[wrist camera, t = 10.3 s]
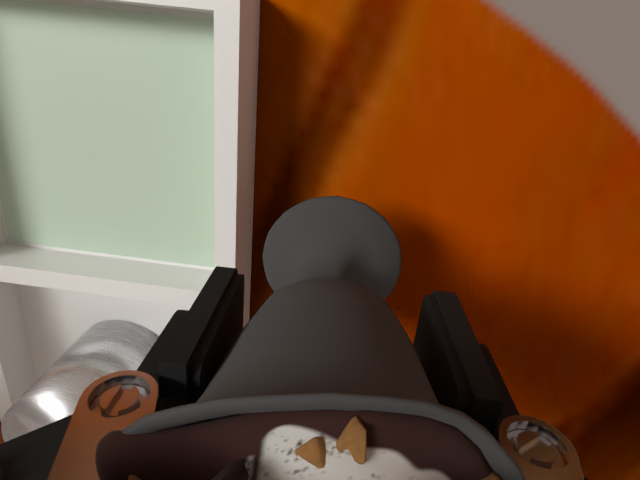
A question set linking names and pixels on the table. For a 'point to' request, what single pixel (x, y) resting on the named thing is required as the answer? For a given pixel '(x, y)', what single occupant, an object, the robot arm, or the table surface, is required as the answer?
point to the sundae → (315, 378)
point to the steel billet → (78, 374)
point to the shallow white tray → (119, 166)
